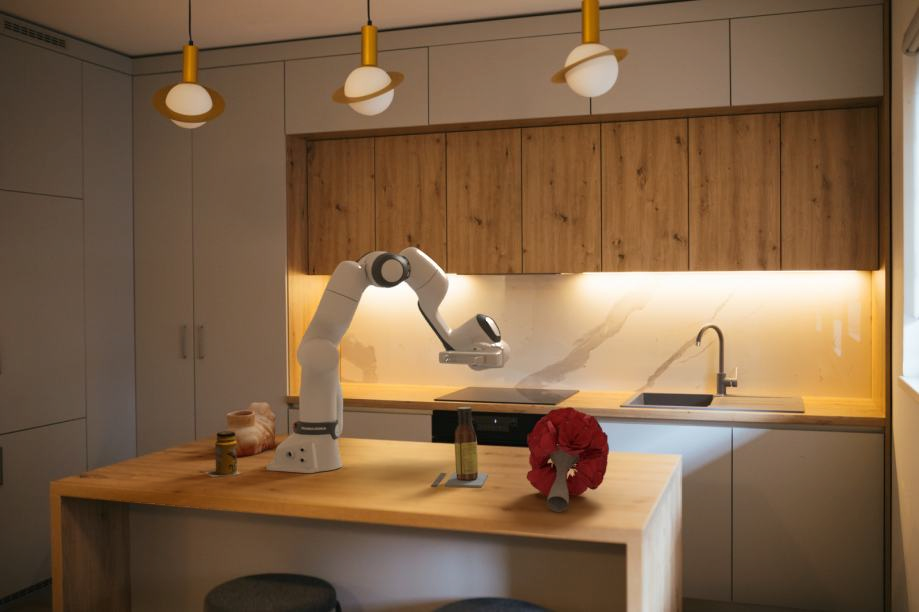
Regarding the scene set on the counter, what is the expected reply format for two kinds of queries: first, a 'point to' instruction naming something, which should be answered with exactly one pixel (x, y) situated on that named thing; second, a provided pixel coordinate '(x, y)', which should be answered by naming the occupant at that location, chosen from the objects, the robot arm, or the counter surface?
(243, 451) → the ceramic vessel
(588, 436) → the bouquet
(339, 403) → the glass bottle
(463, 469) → the sauce bottle
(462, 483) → the mat
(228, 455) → the condiment
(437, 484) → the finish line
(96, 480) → the counter surface
